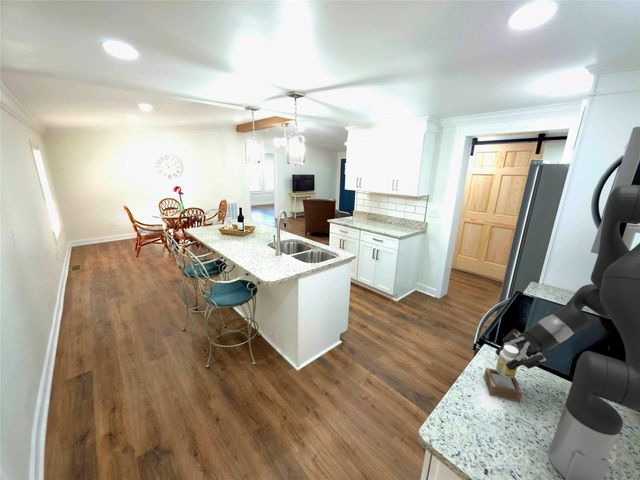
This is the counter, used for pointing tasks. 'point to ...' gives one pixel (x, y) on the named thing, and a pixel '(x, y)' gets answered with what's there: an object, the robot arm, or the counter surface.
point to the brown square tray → (502, 388)
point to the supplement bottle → (507, 361)
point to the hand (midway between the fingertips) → (502, 360)
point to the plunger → (502, 380)
